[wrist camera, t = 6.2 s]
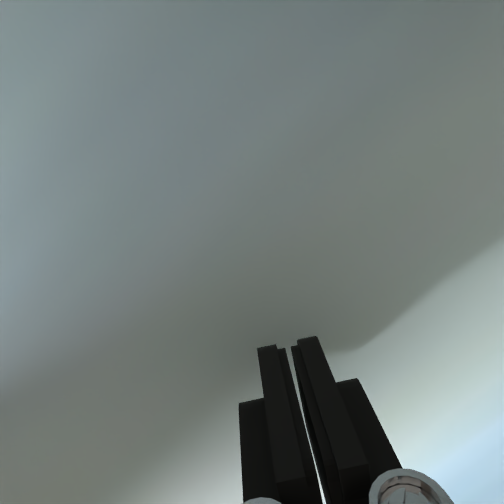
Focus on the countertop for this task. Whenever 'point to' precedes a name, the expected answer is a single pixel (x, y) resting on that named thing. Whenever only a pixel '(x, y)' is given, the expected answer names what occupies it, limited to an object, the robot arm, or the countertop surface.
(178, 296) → the countertop surface
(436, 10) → the countertop surface
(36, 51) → the countertop surface
